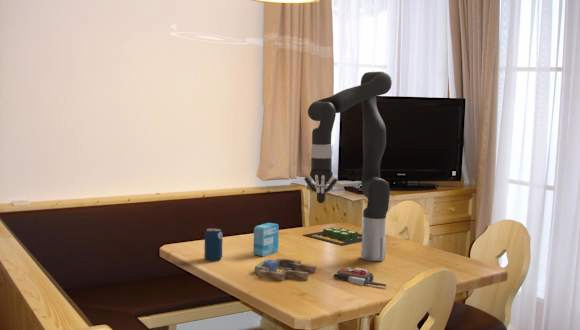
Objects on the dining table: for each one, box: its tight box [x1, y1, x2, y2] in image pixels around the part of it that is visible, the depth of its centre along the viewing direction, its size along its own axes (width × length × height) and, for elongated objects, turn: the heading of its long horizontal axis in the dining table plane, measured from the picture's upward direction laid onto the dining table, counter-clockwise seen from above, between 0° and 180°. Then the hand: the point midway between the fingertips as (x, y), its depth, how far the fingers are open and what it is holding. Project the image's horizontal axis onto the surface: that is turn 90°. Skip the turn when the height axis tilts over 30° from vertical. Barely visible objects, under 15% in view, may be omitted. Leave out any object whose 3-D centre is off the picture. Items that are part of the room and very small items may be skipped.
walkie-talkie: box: [333, 267, 387, 288], centre depth 211 cm, size 9×4×20 cm
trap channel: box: [254, 257, 317, 282], centre depth 218 cm, size 20×20×2 cm
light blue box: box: [253, 222, 280, 257], centre depth 245 cm, size 12×4×12 cm, turn 149°
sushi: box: [302, 226, 362, 247], centre depth 280 cm, size 25×25×4 cm
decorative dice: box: [263, 259, 278, 272], centre depth 219 cm, size 4×4×4 cm
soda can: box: [203, 227, 224, 262], centre depth 233 cm, size 7×7×12 cm
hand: (321, 202), depth 221 cm, fingers closed
